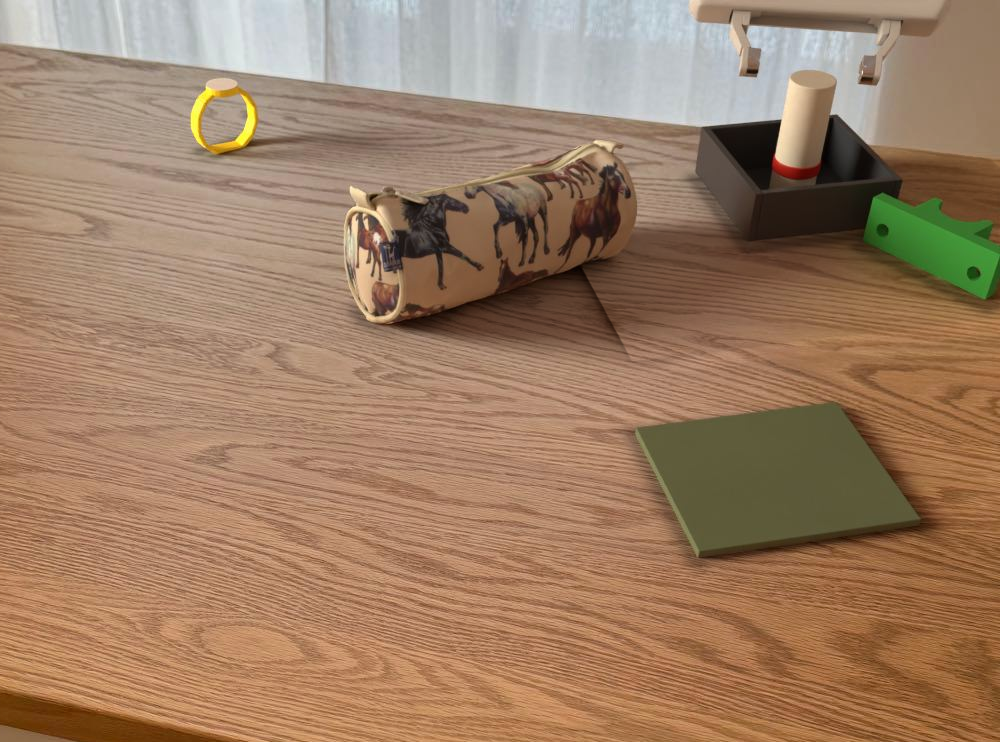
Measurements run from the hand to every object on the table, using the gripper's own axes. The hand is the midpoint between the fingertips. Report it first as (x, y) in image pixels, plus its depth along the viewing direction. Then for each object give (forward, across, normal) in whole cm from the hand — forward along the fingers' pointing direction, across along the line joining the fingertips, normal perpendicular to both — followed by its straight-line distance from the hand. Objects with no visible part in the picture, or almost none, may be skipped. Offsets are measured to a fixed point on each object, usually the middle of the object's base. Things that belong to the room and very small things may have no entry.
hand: (808, 78), depth 99 cm
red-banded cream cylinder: (+8, 0, +4) cm, 9 cm away
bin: (+9, 0, +5) cm, 10 cm away
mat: (+34, -2, -21) cm, 40 cm away
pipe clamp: (+15, +11, -1) cm, 19 cm away
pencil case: (+21, -23, -7) cm, 31 cm away
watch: (+7, -49, +7) cm, 50 cm away
